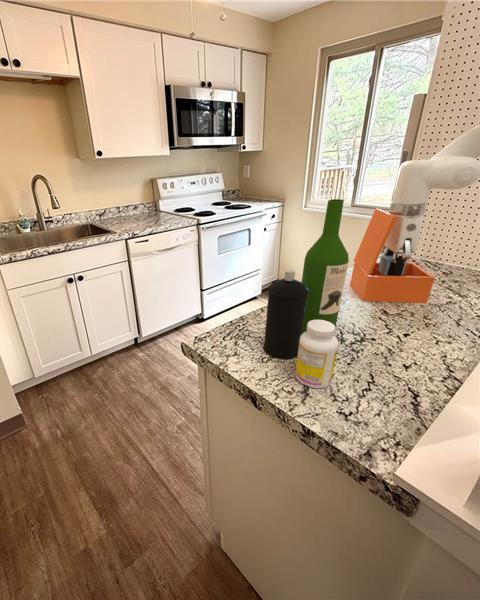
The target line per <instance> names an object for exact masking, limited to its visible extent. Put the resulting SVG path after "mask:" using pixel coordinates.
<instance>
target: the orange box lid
mask: <svg viewBox="0 0 480 600" xmlns="http://www.w3.org/2000/svg"><path fill="white" fill-rule="evenodd" d="M370 218H371V219H370V221H369V223H368V226H367V228H366V230H365V233H364V235H363V238H362V240H361V242H360V245H359V247H358V249H357V252H356V254H355V256H354V259H353V262H354V263H356V264H357V265H358V266H359V267H360V268H361V269H362V270H363V271H364V272H365V273H366V274H367V275H371V272H372V270H373V268H374V266H375V264H376V262H378V260H379V258H380V255H381V253H382V250H383V249H384V247H385V245H384V244H385V242H386V240H387V238H388V236H389V233H390V231H391V229H392V227H393V225H394V223H395V220H396V218H397V217H395V216H393V215H391V214H389V212H386V211H384V210H382V209H381V208H375V209H374V211H373V213H372V216H371V217H370Z"/></svg>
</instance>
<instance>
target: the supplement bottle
mask: <svg viewBox="0 0 480 600" xmlns="http://www.w3.org/2000/svg"><path fill="white" fill-rule="evenodd" d="M335 333H336V327H335V326H334V324H332V323H330V322H328V321H325V320H311V321H309V322H308V324H307V331H306V332H304V333H303V334H302V335H301V337H300V341H299V349H298V356H297V357H296V365H295V372H294V373H295V378H296V379H297V380H298V381H299V382H300V384H302V385H305V386H306V387H309V388H312V389H324V388H327V387H328V386H330V385H331V383H332V380H333V376H334V370H335V365H336V360H337V355H338V349H339V341H338V338H337V337H336V336H335Z"/></svg>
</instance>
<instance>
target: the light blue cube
mask: <svg viewBox="0 0 480 600" xmlns="http://www.w3.org/2000/svg"><path fill="white" fill-rule="evenodd" d="M399 256H400V255H398V256H397V258H398V257H399ZM379 262H380V264H379V268H378V270H379V271H380V272H381V273H382V274H383V275H387V276H389V275H388V271H389V267H390V263H391V262H393V256H383V255H381V256H380V261H379ZM406 262H408V261H407V260H406ZM405 265H406V263H405V264H404V268H403V271H402V275H401V276H403V272H404V269H405Z"/></svg>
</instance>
